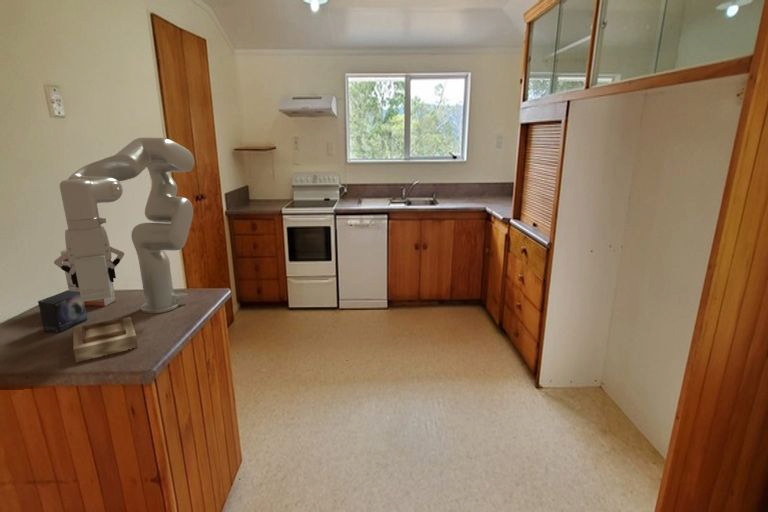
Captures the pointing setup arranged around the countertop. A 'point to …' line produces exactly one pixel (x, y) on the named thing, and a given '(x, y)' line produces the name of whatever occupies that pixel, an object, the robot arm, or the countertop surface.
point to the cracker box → (73, 288)
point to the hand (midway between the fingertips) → (95, 283)
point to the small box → (62, 311)
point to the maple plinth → (104, 338)
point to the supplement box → (93, 278)
